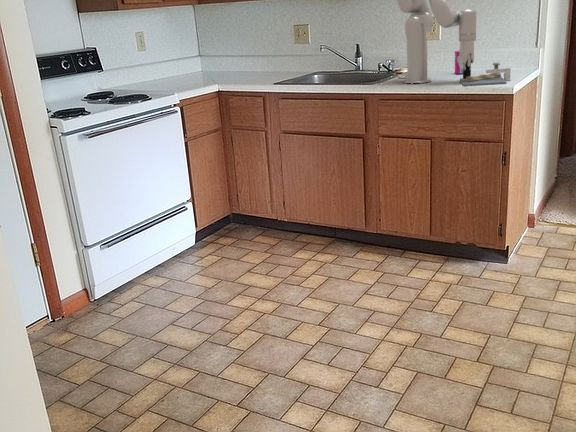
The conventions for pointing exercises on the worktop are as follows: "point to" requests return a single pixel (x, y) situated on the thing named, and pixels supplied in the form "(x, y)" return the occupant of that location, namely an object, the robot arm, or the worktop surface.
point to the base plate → (483, 81)
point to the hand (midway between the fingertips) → (466, 78)
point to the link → (484, 75)
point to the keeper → (506, 72)
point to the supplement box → (458, 64)
